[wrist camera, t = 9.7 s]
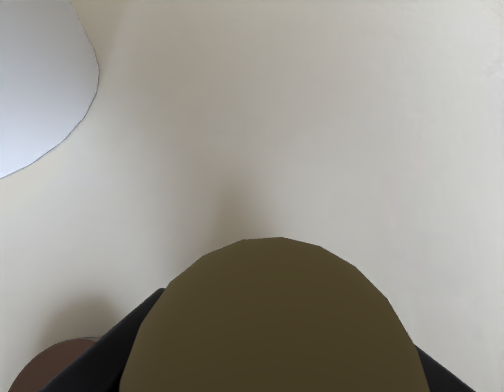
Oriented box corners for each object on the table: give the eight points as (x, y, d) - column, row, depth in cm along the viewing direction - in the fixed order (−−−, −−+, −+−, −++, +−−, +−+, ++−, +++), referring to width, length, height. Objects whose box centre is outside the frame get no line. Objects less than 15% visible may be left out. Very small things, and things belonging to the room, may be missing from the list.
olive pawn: (278, 440, 12) (578, 1100, 2) (155, 383, 12) (-143, 673, 2) (313, 303, 14) (518, 271, 4) (211, 261, 15) (187, 142, 5)
